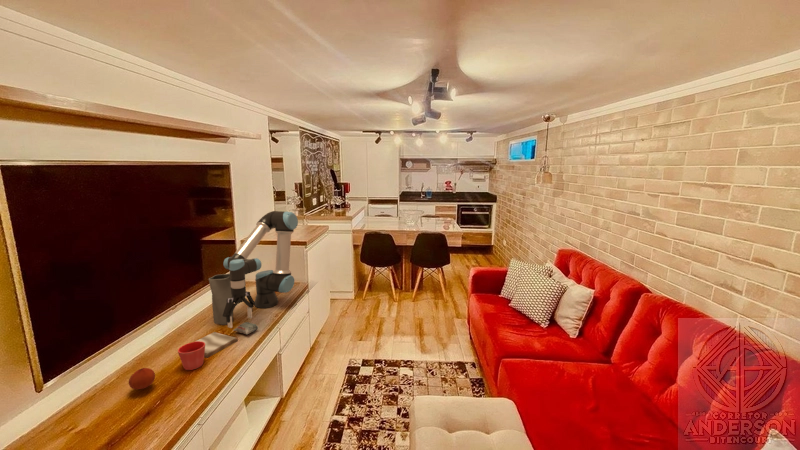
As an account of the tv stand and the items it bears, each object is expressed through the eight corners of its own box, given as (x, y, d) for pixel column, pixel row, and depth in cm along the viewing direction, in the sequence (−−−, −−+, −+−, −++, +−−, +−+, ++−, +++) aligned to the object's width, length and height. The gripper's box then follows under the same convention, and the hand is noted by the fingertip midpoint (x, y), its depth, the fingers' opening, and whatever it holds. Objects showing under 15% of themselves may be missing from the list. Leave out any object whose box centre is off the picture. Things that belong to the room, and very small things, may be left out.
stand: (214, 334, 183) (214, 331, 183) (237, 340, 176) (237, 337, 176) (183, 350, 167) (182, 346, 166) (207, 357, 160) (206, 354, 160)
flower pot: (182, 362, 156) (180, 343, 155) (208, 357, 160) (206, 339, 159) (177, 374, 147) (175, 354, 145) (205, 368, 151) (203, 349, 149)
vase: (208, 327, 192) (203, 279, 187) (221, 318, 204) (217, 273, 199) (227, 328, 190) (223, 280, 186) (240, 319, 202) (236, 273, 198)
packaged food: (247, 337, 179) (246, 329, 178) (232, 333, 184) (232, 325, 183) (259, 331, 187) (259, 323, 186) (245, 327, 192) (245, 319, 191)
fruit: (132, 384, 140) (129, 367, 138) (157, 378, 144) (155, 361, 143) (127, 396, 132) (124, 378, 131) (154, 389, 136) (151, 372, 135)
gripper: (251, 279, 195) (252, 313, 197) (213, 292, 172) (216, 330, 175) (260, 281, 192) (262, 315, 195) (223, 294, 169) (226, 332, 172)
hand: (240, 322), depth 185 cm, fingers open, 13 cm apart
